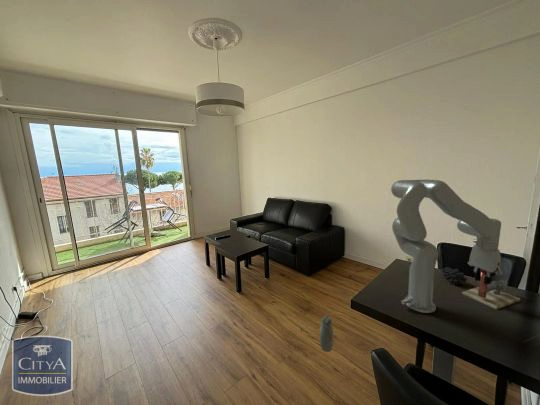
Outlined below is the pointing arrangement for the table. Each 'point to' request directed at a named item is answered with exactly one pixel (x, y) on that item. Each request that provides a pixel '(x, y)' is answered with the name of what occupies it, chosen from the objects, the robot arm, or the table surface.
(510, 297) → the board
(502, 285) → the lever
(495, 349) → the table surface
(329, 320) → the glass bottle
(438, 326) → the table surface
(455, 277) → the fruit
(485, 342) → the table surface
